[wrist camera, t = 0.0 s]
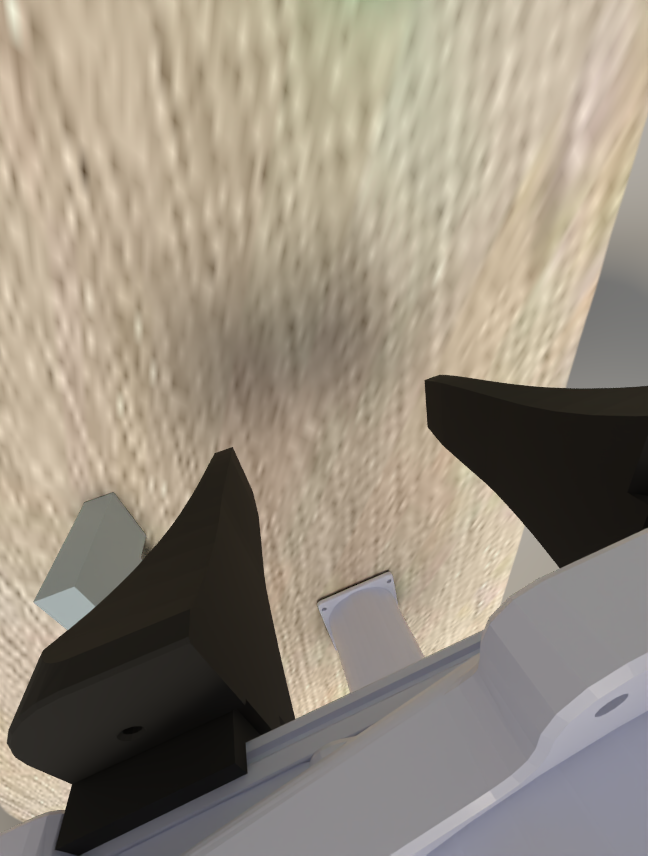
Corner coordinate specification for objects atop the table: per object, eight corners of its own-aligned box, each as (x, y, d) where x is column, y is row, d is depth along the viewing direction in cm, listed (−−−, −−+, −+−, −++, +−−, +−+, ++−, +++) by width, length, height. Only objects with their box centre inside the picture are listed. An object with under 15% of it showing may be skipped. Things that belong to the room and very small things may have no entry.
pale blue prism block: (193, 597, 27) (187, 692, 21) (171, 605, 27) (159, 705, 21) (113, 492, 21) (74, 586, 15) (84, 502, 21) (33, 602, 15)
